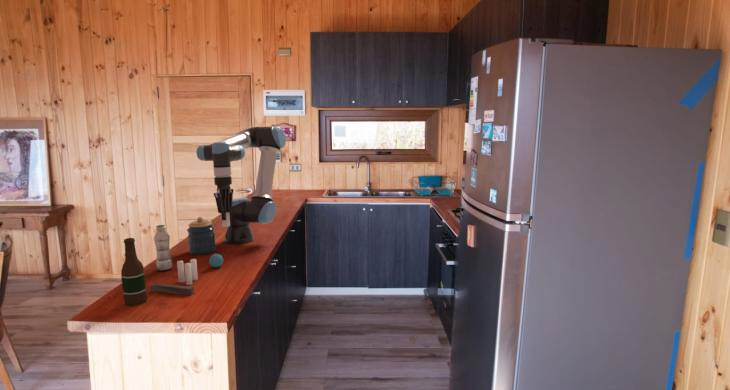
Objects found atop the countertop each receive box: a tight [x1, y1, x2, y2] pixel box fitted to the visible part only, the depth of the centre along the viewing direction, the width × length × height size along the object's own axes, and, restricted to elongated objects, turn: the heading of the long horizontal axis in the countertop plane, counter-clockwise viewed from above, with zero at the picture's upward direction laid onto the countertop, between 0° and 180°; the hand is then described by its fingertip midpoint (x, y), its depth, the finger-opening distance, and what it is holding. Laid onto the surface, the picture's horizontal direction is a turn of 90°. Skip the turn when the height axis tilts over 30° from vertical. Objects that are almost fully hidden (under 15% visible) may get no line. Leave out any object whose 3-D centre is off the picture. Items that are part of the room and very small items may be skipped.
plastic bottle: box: [153, 224, 173, 271], centre depth 196 cm, size 6×7×20 cm
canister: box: [186, 216, 217, 256], centre depth 223 cm, size 13×13×18 cm
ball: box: [208, 253, 224, 268], centre depth 199 cm, size 6×6×6 cm
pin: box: [183, 262, 193, 286], centre depth 179 cm, size 2×2×8 cm
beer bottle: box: [120, 237, 147, 307], centre depth 160 cm, size 8×8×24 cm
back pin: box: [176, 260, 186, 283], centre depth 182 cm, size 2×2×8 cm
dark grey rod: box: [150, 282, 195, 296], centre depth 171 cm, size 2×18×2 cm, turn 75°
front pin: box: [189, 258, 199, 282], centre depth 184 cm, size 2×2×8 cm
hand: (226, 226), depth 206 cm, fingers closed
